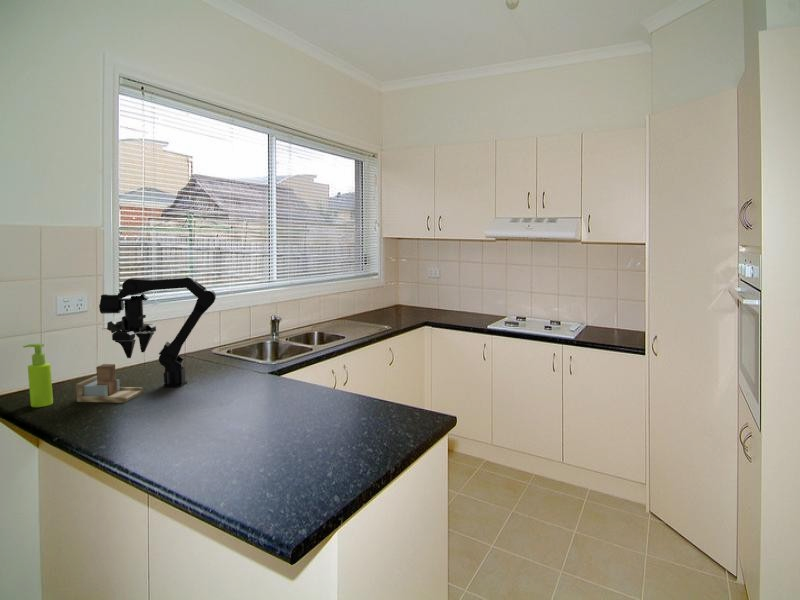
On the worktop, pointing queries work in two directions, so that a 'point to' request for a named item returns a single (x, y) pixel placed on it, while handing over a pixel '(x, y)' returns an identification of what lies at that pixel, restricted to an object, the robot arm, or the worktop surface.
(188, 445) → the worktop surface
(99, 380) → the wooden post
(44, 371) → the soap dispenser
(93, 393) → the block
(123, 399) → the shallow wooden tray
